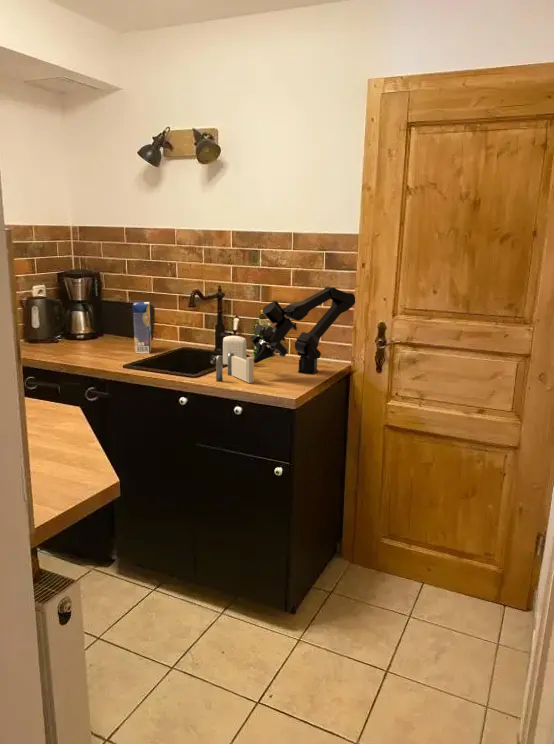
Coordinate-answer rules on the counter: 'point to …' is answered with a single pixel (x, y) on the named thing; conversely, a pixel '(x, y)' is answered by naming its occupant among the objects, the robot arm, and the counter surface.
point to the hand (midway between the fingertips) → (254, 362)
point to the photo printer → (234, 347)
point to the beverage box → (142, 327)
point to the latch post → (219, 368)
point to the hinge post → (230, 363)
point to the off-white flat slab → (243, 368)
